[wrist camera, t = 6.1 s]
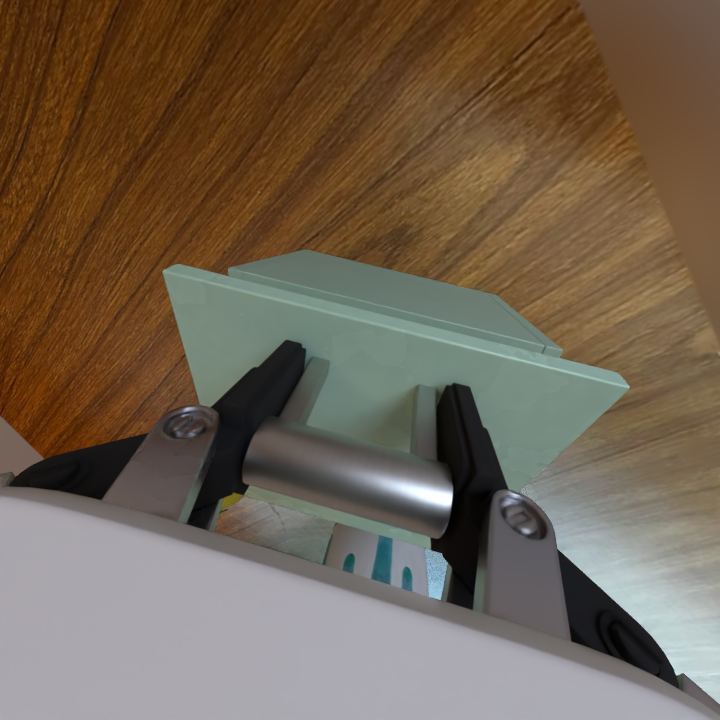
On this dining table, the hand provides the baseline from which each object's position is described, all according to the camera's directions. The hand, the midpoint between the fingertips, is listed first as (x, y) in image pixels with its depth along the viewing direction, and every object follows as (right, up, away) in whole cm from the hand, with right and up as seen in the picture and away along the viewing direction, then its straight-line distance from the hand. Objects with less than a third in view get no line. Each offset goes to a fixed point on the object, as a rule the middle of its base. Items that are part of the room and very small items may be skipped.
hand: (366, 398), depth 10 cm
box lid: (-1, -3, +4) cm, 5 cm away
